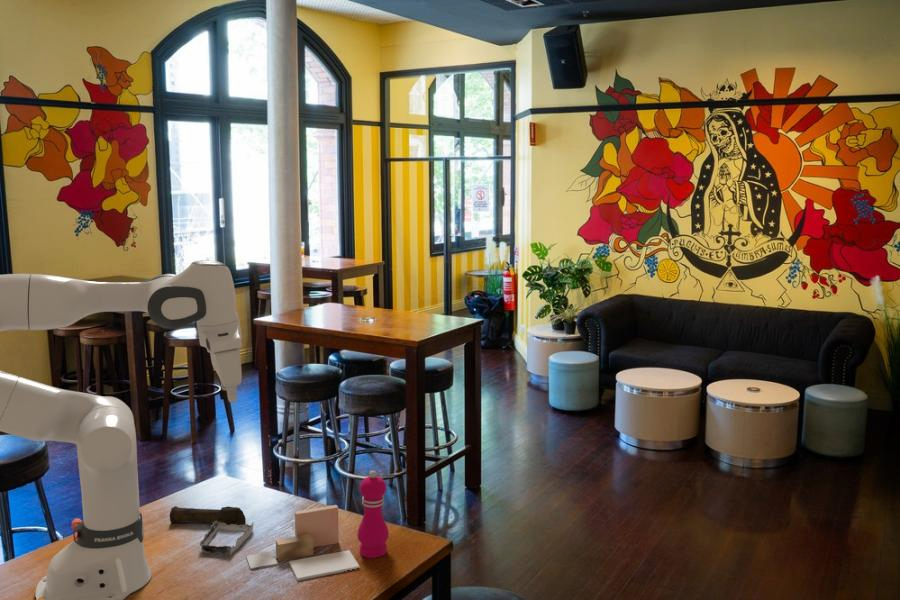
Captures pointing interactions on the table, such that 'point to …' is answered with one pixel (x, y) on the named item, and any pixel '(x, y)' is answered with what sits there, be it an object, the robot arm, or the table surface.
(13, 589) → the table surface
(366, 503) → the pepper mill
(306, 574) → the pad
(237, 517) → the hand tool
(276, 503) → the table surface
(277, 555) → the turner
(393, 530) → the table surface
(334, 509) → the tile
